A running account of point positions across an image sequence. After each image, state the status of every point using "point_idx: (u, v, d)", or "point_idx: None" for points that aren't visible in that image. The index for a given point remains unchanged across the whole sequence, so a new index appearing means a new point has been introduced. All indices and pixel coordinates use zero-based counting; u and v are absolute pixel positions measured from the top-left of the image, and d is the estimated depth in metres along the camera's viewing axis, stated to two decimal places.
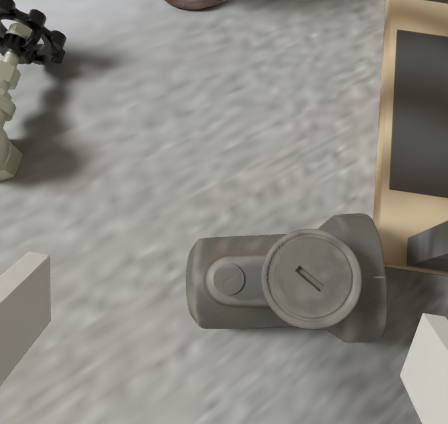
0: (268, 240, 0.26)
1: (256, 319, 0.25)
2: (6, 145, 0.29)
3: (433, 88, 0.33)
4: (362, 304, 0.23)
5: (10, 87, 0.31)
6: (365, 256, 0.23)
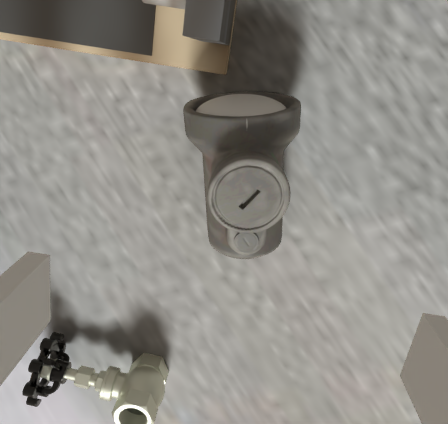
0: None
1: None
2: (141, 372, 0.39)
3: None
4: (269, 137, 0.26)
5: (93, 371, 0.39)
6: (228, 134, 0.25)
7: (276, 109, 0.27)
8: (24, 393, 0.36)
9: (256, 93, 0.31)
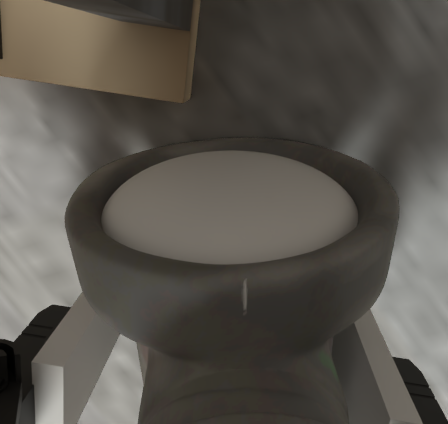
0: None
1: None
2: None
3: None
4: (320, 324, 0.08)
5: None
6: (181, 321, 0.07)
7: (332, 215, 0.09)
8: None
9: (266, 143, 0.13)
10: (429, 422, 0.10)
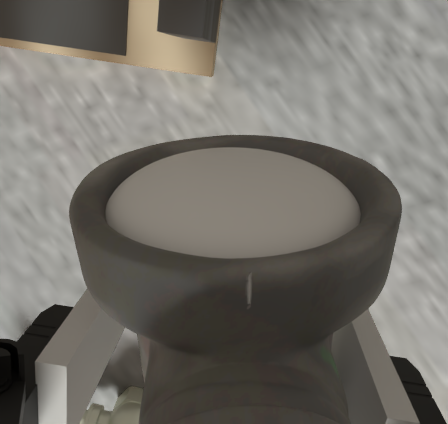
0: None
1: None
2: (127, 410, 0.35)
3: None
4: (322, 319, 0.08)
5: None
6: (185, 314, 0.08)
7: (335, 213, 0.09)
8: None
9: (269, 141, 0.13)
10: (426, 421, 0.10)
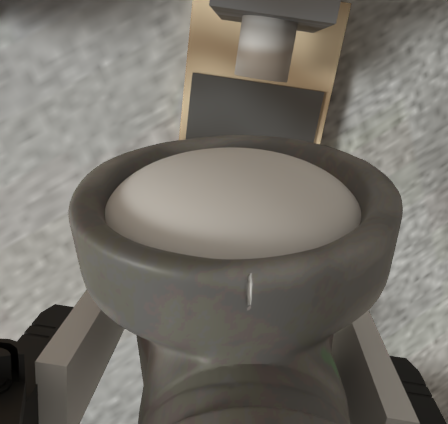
0: None
1: None
2: None
3: None
4: (323, 321, 0.08)
5: None
6: (185, 315, 0.08)
7: (335, 213, 0.09)
8: None
9: (269, 141, 0.13)
10: (426, 420, 0.10)
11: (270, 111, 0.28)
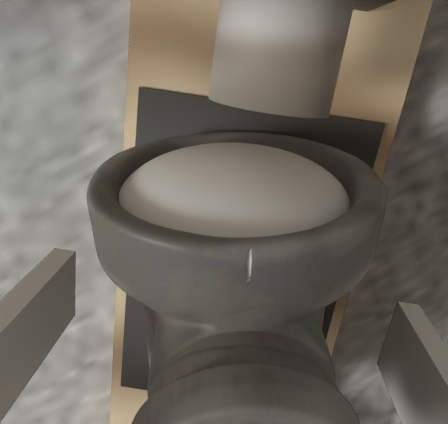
0: None
1: None
2: None
3: None
4: (313, 294, 0.09)
5: None
6: (192, 286, 0.09)
7: (326, 201, 0.10)
8: None
9: (268, 138, 0.14)
10: None
11: None
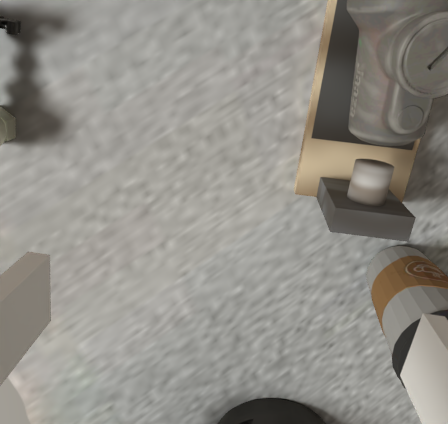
0: (371, 77, 0.30)
1: None
2: (2, 130, 0.38)
3: None
4: None
5: None
6: None
7: None
8: None
9: None
10: None
11: None
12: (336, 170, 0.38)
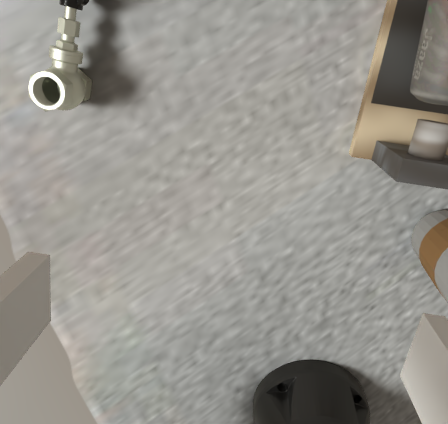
0: (439, 40, 0.33)
1: None
2: (84, 88, 0.40)
3: None
4: None
5: None
6: None
7: None
8: None
9: None
10: None
11: None
12: (391, 134, 0.41)
